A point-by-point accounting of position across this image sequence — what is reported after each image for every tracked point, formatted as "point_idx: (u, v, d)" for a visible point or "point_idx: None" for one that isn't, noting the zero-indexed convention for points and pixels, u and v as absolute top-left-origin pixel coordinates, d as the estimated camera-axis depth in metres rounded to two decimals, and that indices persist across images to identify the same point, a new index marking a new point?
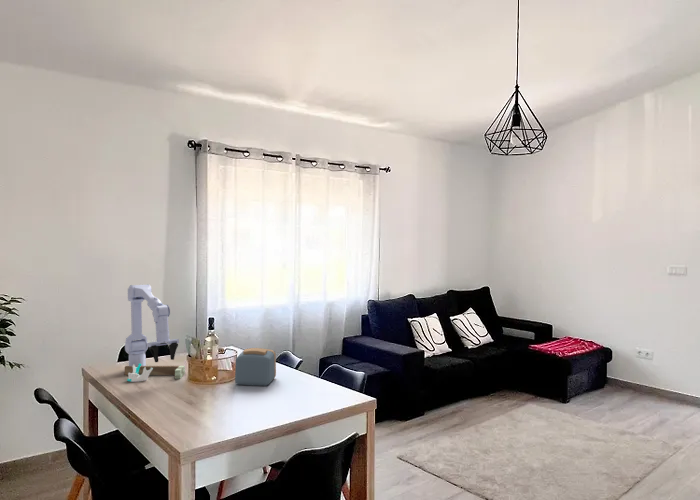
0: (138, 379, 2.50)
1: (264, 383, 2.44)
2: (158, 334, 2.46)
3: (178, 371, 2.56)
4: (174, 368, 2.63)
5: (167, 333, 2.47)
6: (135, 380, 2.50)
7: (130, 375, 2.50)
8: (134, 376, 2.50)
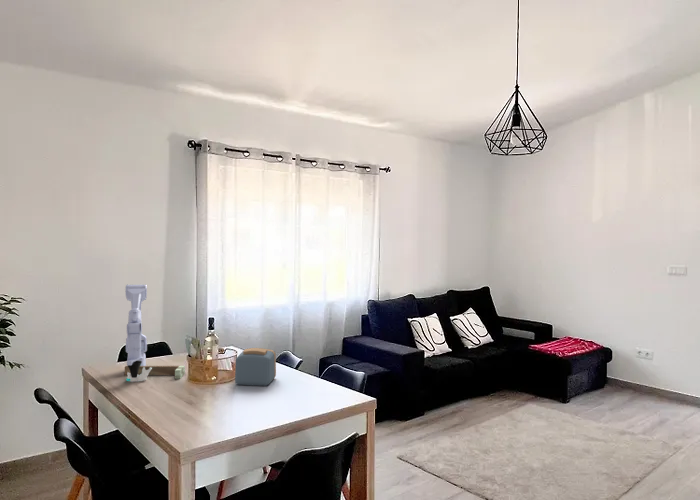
0: (137, 379, 2.50)
1: (264, 383, 2.44)
2: (135, 351, 2.46)
3: (178, 371, 2.56)
4: (174, 368, 2.63)
5: (140, 350, 2.50)
6: (134, 380, 2.50)
7: (129, 375, 2.50)
8: None
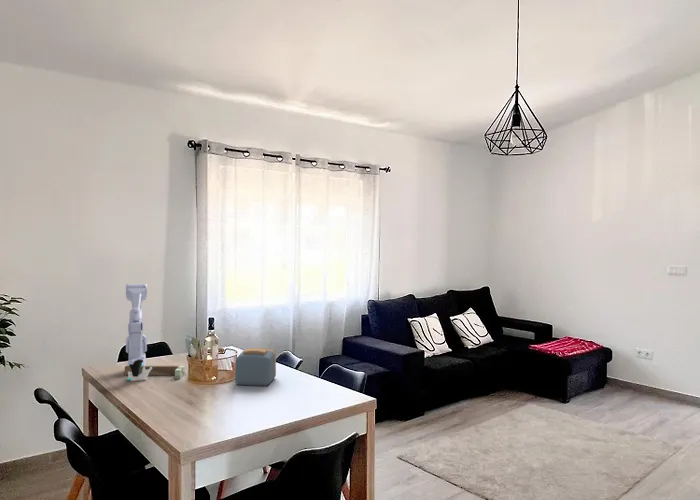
0: (137, 378, 2.52)
1: (264, 383, 2.44)
2: (136, 351, 2.48)
3: (178, 371, 2.56)
4: (174, 368, 2.63)
5: None
6: (135, 379, 2.51)
7: (129, 374, 2.52)
8: None
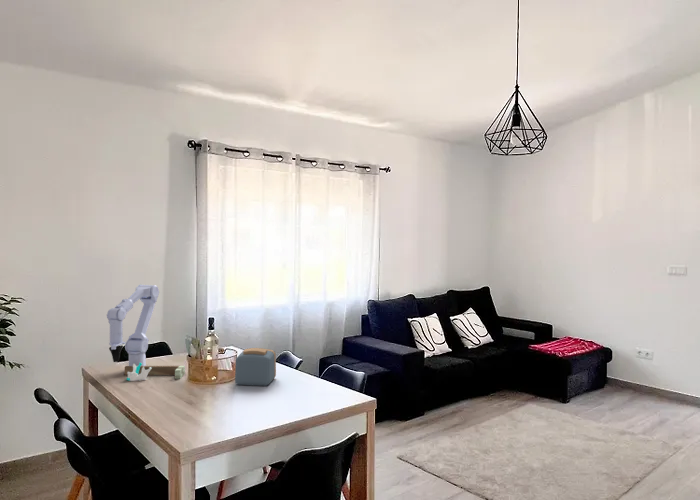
0: (136, 378, 2.51)
1: (264, 383, 2.44)
2: (117, 336, 2.53)
3: (178, 371, 2.56)
4: (174, 368, 2.63)
5: None
6: (134, 379, 2.51)
7: (129, 374, 2.52)
8: (133, 375, 2.52)
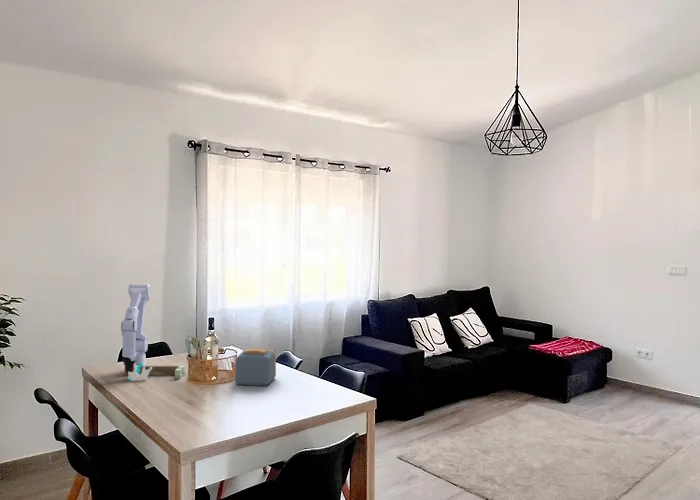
0: (137, 378, 2.51)
1: (264, 383, 2.44)
2: (133, 347, 2.55)
3: (178, 371, 2.56)
4: (174, 368, 2.63)
5: None
6: (135, 379, 2.51)
7: (129, 374, 2.51)
8: (133, 375, 2.51)
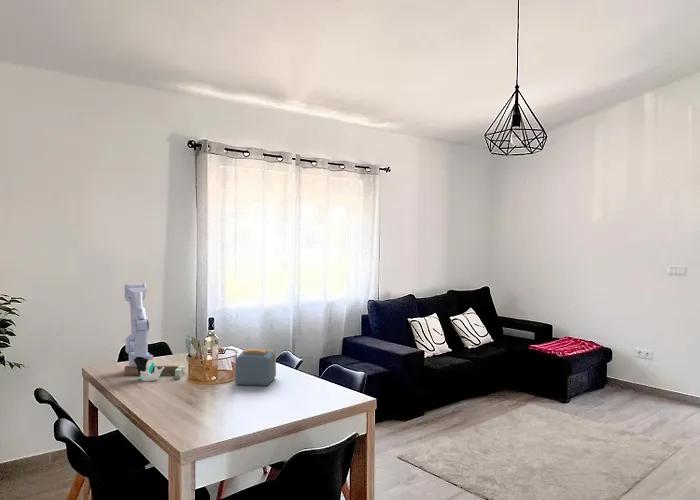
0: (149, 378, 2.52)
1: (264, 383, 2.44)
2: (146, 347, 2.56)
3: (178, 371, 2.56)
4: (174, 368, 2.63)
5: None
6: (147, 379, 2.52)
7: (142, 373, 2.52)
8: (145, 375, 2.52)
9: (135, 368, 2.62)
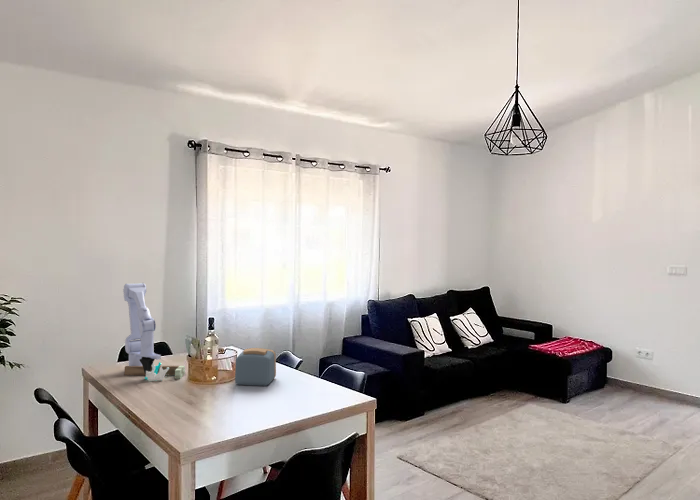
0: (154, 378, 2.52)
1: (264, 383, 2.44)
2: (153, 347, 2.57)
3: (178, 371, 2.56)
4: (174, 368, 2.63)
5: None
6: (151, 378, 2.52)
7: (147, 373, 2.52)
8: (150, 374, 2.52)
9: (135, 368, 2.62)
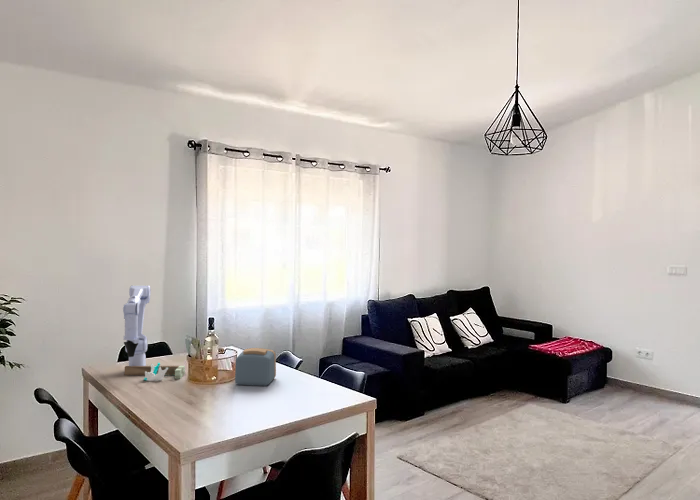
0: (153, 378, 2.52)
1: (264, 383, 2.44)
2: (135, 331, 2.55)
3: (178, 371, 2.56)
4: (174, 368, 2.63)
5: None
6: (151, 379, 2.51)
7: (146, 374, 2.52)
8: (150, 375, 2.52)
9: (135, 368, 2.62)
